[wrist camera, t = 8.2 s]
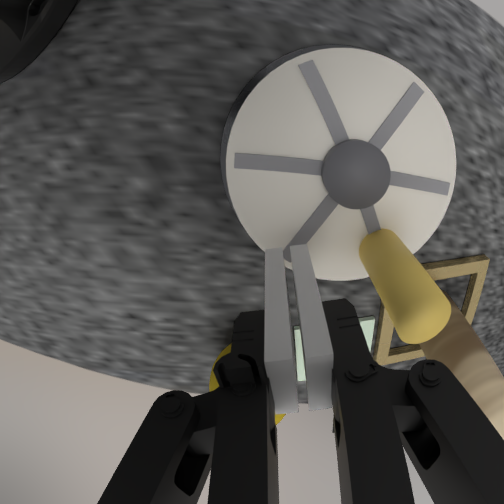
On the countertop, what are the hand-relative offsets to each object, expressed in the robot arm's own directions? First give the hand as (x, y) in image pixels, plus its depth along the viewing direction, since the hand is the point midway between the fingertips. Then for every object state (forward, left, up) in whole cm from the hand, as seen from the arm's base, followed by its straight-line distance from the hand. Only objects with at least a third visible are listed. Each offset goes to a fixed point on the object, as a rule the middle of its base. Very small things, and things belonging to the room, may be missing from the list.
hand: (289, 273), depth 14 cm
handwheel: (-4, +4, -4) cm, 6 cm away
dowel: (+8, +11, -5) cm, 15 cm away
